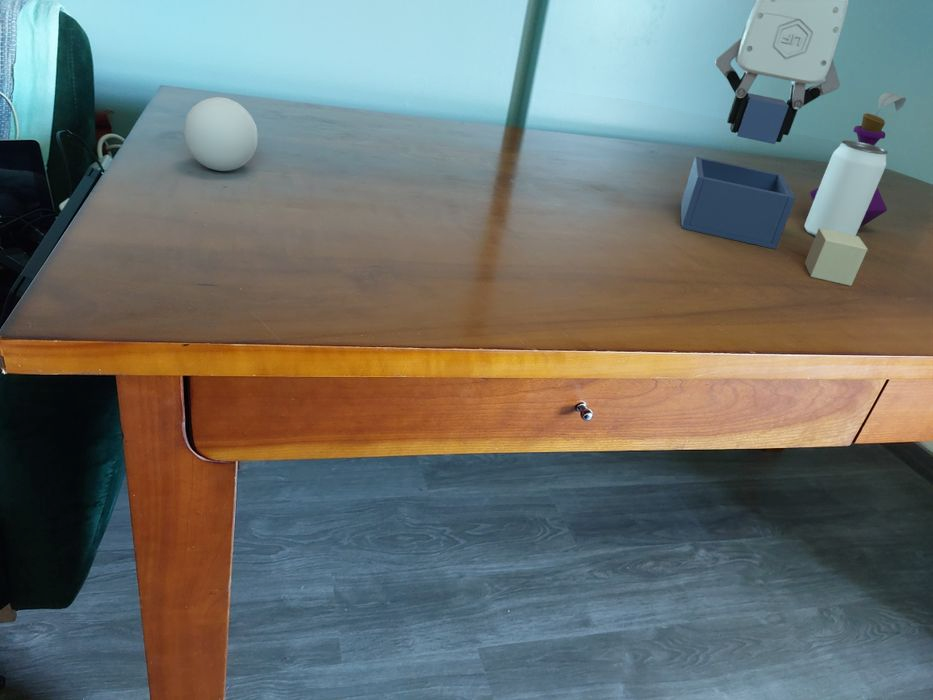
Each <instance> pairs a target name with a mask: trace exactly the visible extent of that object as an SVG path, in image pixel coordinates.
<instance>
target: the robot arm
mask: <svg viewBox="0 0 933 700" xmlns="http://www.w3.org/2000/svg"><path fill="white" fill-rule="evenodd" d="M849 3H850V1H849V0H755V1H754V4H753V6H752V8H751V11H750V13H749V16H748V18H747V21H746V23H745V27H744V29H743V31H742V34H741V37H740V38H739V39H738V40H737V41H736V42H734V43H733V44H732V45H731V46H729V47H728V48H727V49H726V50H724V51H723V52H722V53H721V54H720V55H719V56H718V57H717V58H716V59H715V60H714V63H715V65H716V67H717V68H718V70H719V71H720V73H722V74H723V76H724V77H725V79H727V82H728V83H729V85H730V88H731V89H732V91H733V92H734V94H735V96H734V98H733V102H732V105H731V107H730V111H729V114H728V117H727V121H726V123H727V124H730V127H729V129H730V132H731V133H734V134H736V132H738V130H739V127H740V124H741V121H742V118H743V115H744V112H745V109H746V106H747V103H748V100H747V96H748V93H749V90H750V89H751V88H752V85H753V84H754V82H755V80H756V79H757V77H758V76H759V75H760V76H764V77H770V78H774V79H779V80H784V81H789V82H790V92H789V99H788V100H786V104H787V105H788V106H789V107H788V110H787V112H786V115H785V118H784V121H783V123H782V126H781V129H780V132H779V134H778V137H777V140H776V142H777V143H781V142H782V140H783V137H784V136H789V134H790V132H791V129H792V126H793V124H794V121H795V118H796V117H797V112H798V110H801V109H802V108H803V107H804V106H806V105H808V104H809V103H811V102H813V101H814V100H816V99H818V98H819V97H821V96H824V95H827V94H829V93H832V92H833V91H836V90H838V89H839V88H840V86H841V83H840V79H839V76H838V72H837V69H836V66H835V62H834V55H835V52H836V48H837V46H838V43H839V41H840V37H841V33H842V30H843V26H844V23H845V19H846V15H847V10H848V7H849ZM734 59H735V62H736V64H737V65H738V67H739V68H740V69H741V70H743V73H742V75H741V77H740V76H739V74H738V73H737V71H736V69H735V68H734V67H733V66H732V64H731V63H732V62H733V60H734ZM815 84H816V85H815ZM807 85H812V86H809V87H808V88H806V86H807Z"/></svg>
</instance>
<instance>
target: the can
mask: <svg viewBox="0 0 933 700" xmlns="http://www.w3.org/2000/svg"><path fill="white" fill-rule="evenodd" d="M888 153H889V152H888V150H886V149H884V148H882V147H879V146H876V145H875V146H873V145H869V144H865V143H861V142H859V141H854V140H846V139H844V140H841V141H840V145H839V146H838V147H837V148H836V149H835V150H833V152H832V154H831V156H830V159H829V161H828V164H827V166H826V169H825V171H824V174H823V176H822V179H821V182H820V183H819V187H818V188H819V189H818V191H817V194H816V196H815V199H814V201H813V200H812V204H811V207H810V209H809V212H808V215H807V216H806V219H805V223H804V230H805V231H806V233H808V234H810V235H811V236H813V237H815V236H816V234H817V232H818V229H819V228H822V229H826V230H831V231H836V232H840V233H845V234H849V235H854V236H857V234H858V231H859V229H860V228H861V227H860V225H861V222H862V220H863V218H864V216H865V213H866V211H867V209H868V206H869V204H870V202H871V200H872V197H873V195H874V193H875V190H876V188H877V187H878V186H879V184H880V181H881V179H882V176H883V174H884V172H885V169H886V166H887V155H888ZM859 227H860V228H859Z"/></svg>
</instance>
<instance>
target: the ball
mask: <svg viewBox="0 0 933 700" xmlns="http://www.w3.org/2000/svg"><path fill="white" fill-rule="evenodd" d="M182 134H183V140H184V144H185V146H186V147H187V150H188V152H189V153H190V154H191V156H192V157H193V158H194V159H195V161H197V162H199V164H201V165H203V166H204V167H206V168H208V169H211V170H214V171H218V172H228V171H233V170H238V169H239V168H241V167H242V166H245V165H247V163H248V162H249V161H250V160H251V158H253V156H254V154H255V153H256V150H257V148H258V147H257V146H258V141H259V136H258V127H257V125H256V123H255V119H254V118H253V117H252V115H251V114H250V112H249V111H248V110H247V109H246V108H245V107H243V106H242V105H241V104H240V103H239V102H237V101H235V100H232V99H230V98H227V97H221V96H213V97H209V98H206V99H202V100H200V101H199V102H197V103H196V104H194V105H193V106H192V108H190V110H189V111H188V113H187V115H186V116H185V120H184V122H183V131H182Z"/></svg>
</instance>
